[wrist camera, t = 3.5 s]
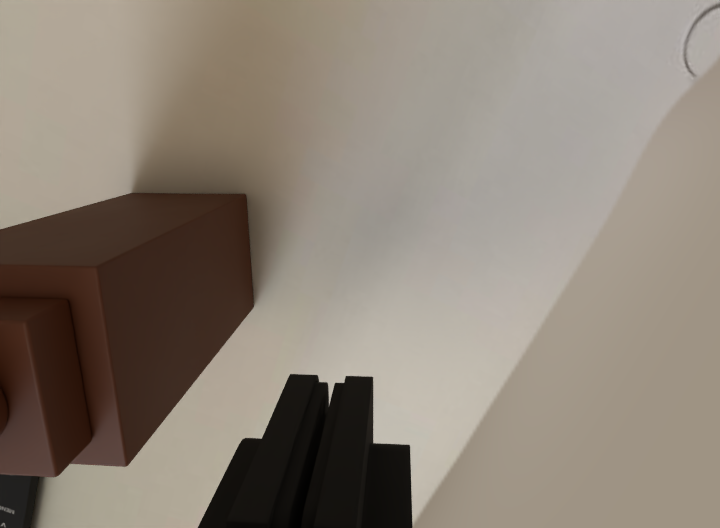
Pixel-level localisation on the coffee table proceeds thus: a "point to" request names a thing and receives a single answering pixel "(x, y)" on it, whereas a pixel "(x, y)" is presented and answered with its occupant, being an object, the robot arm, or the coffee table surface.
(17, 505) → the remote control
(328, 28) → the coffee table surface
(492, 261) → the coffee table surface
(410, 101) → the coffee table surface
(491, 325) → the coffee table surface
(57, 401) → the bottle
